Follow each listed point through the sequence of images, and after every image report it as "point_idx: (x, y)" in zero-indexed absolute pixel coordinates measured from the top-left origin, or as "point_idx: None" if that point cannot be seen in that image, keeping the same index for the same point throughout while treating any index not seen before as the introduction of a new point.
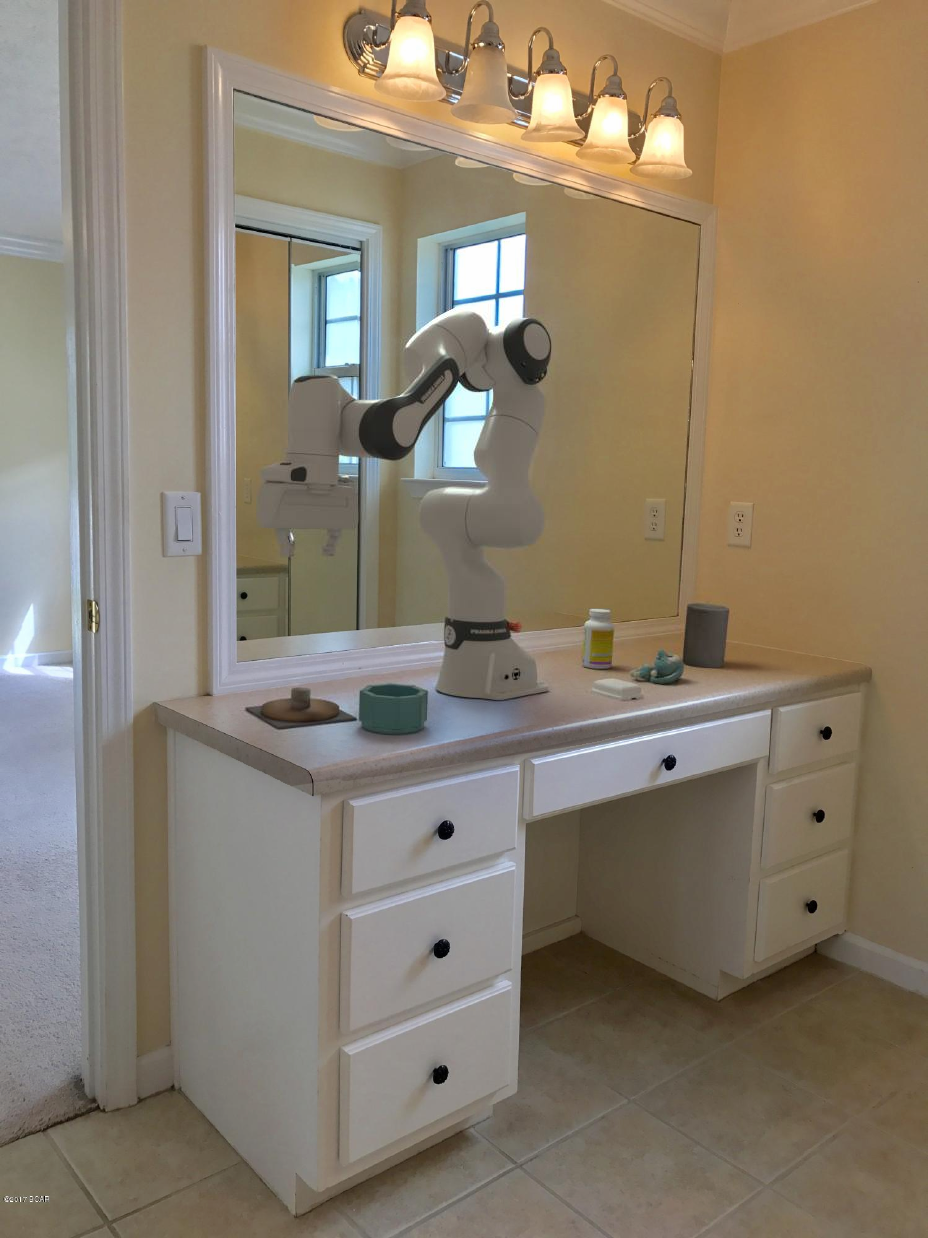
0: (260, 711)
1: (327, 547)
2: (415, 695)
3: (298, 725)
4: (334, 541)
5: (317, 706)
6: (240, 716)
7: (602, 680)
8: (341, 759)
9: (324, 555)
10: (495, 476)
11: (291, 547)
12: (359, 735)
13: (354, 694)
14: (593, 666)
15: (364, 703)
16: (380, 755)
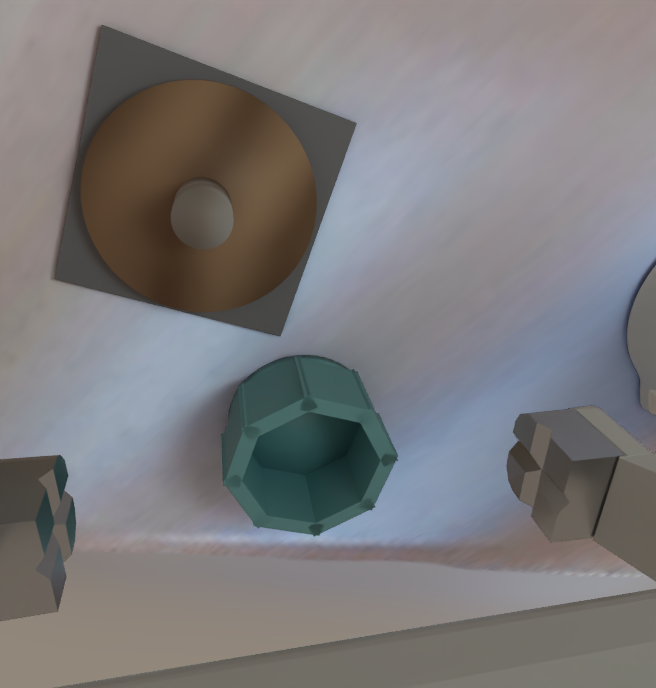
0: (111, 108)
1: (548, 511)
2: (311, 525)
3: (115, 294)
4: (644, 564)
5: (245, 234)
6: (40, 86)
7: None
8: None
9: (516, 432)
10: None
11: (15, 607)
12: (188, 425)
13: (501, 121)
14: None
15: (235, 431)
16: (121, 537)
